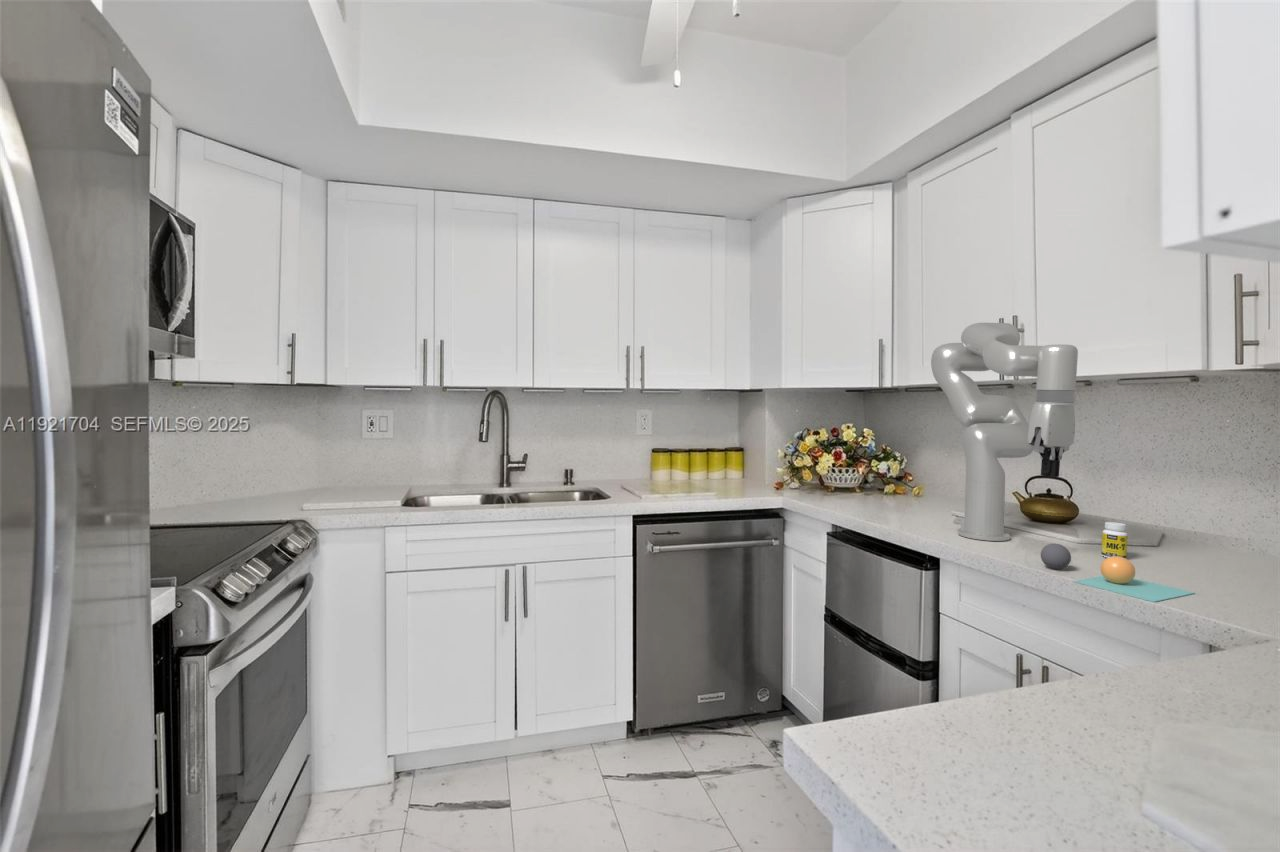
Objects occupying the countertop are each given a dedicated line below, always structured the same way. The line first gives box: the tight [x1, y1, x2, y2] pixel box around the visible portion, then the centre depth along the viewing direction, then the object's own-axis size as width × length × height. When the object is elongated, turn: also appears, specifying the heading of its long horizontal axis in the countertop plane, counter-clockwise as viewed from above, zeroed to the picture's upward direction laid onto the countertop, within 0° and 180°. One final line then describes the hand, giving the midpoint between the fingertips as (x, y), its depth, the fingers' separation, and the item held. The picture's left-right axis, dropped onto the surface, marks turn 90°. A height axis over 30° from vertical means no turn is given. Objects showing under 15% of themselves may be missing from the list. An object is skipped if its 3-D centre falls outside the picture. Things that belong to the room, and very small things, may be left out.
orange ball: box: [1100, 556, 1136, 584], centre depth 123 cm, size 6×6×6 cm
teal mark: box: [1073, 575, 1196, 603], centre depth 120 cm, size 14×14×1 cm
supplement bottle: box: [1100, 521, 1129, 559], centre depth 145 cm, size 5×5×8 cm
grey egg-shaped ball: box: [1040, 543, 1072, 570], centre depth 134 cm, size 6×6×6 cm
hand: (1049, 476), depth 141 cm, fingers closed
